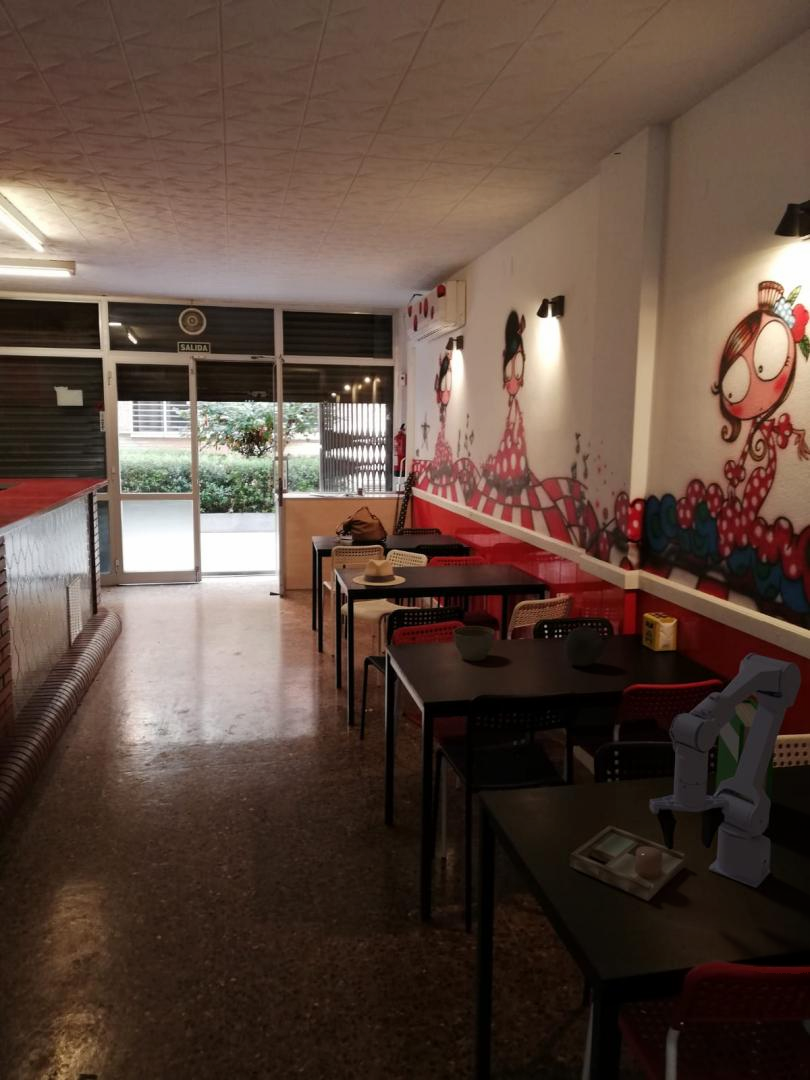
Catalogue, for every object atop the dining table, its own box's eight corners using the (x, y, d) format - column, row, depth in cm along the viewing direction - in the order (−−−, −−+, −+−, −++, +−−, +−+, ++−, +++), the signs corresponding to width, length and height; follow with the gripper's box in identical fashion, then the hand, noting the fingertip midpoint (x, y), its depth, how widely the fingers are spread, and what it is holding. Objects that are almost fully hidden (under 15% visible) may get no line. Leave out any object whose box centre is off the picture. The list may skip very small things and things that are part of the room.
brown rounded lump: (666, 871, 153) (666, 852, 152) (654, 882, 149) (655, 863, 149) (642, 862, 156) (643, 843, 156) (630, 872, 153) (631, 853, 152)
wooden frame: (684, 866, 158) (685, 854, 158) (647, 901, 147) (648, 887, 146) (609, 837, 170) (609, 825, 170) (570, 866, 158) (570, 853, 158)
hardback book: (768, 828, 173) (775, 726, 170) (733, 826, 175) (739, 724, 171) (747, 792, 191) (753, 699, 187) (715, 790, 192) (720, 697, 188)
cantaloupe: (574, 673, 285) (575, 633, 283) (558, 662, 299) (558, 624, 297) (609, 670, 288) (610, 631, 286) (591, 659, 302) (592, 621, 300)
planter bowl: (450, 652, 312) (450, 626, 310) (489, 651, 313) (489, 625, 312) (457, 664, 296) (457, 637, 294) (498, 663, 298) (498, 635, 296)
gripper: (718, 767, 149) (714, 833, 151) (644, 770, 148) (641, 836, 150) (736, 784, 142) (732, 853, 144) (659, 786, 141) (656, 856, 143)
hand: (687, 846), depth 147 cm, fingers open, 7 cm apart
